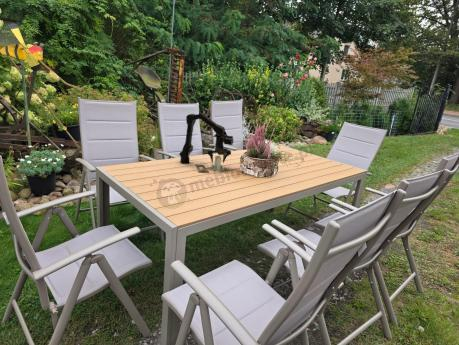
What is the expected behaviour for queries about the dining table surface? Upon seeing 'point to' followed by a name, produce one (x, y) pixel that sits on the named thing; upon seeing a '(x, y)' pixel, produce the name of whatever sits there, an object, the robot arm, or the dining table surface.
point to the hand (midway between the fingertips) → (217, 162)
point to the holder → (215, 167)
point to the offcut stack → (203, 171)
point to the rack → (200, 166)
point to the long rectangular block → (218, 162)
